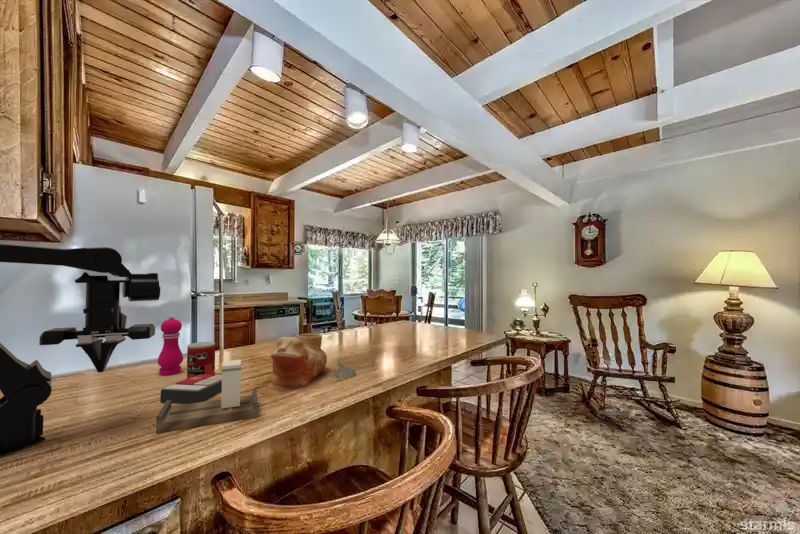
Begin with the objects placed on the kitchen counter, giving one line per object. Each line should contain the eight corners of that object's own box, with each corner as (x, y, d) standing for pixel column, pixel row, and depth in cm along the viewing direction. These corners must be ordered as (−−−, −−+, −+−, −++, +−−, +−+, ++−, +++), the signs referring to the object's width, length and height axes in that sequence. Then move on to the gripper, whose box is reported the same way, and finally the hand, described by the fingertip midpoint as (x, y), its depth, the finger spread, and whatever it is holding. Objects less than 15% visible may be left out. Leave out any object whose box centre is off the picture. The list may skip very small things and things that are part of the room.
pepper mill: (169, 376, 109) (171, 316, 110) (151, 375, 111) (153, 315, 111) (188, 370, 116) (189, 313, 117) (170, 369, 118) (172, 313, 118)
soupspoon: (336, 382, 108) (356, 382, 110) (336, 372, 108) (356, 372, 110) (331, 362, 129) (348, 362, 131) (332, 353, 129) (349, 353, 131)
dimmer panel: (156, 433, 71) (156, 416, 71) (166, 415, 80) (166, 400, 80) (257, 416, 79) (257, 402, 80) (256, 402, 88) (256, 388, 89)
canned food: (180, 379, 106) (181, 345, 106) (202, 372, 114) (203, 340, 114) (199, 382, 104) (200, 347, 104) (220, 374, 112) (220, 342, 112)
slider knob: (221, 408, 78) (221, 366, 79) (222, 401, 83) (223, 361, 83) (240, 406, 80) (240, 364, 80) (240, 398, 85) (241, 359, 85)
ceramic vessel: (256, 390, 98) (257, 339, 98) (298, 365, 124) (298, 325, 124) (300, 393, 95) (300, 341, 96) (333, 368, 121) (333, 327, 122)
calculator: (232, 374, 102) (198, 388, 87) (232, 388, 101) (197, 405, 87) (199, 373, 103) (160, 386, 88) (198, 387, 103) (159, 403, 88)
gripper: (161, 299, 86) (159, 359, 86) (65, 301, 78) (63, 367, 78) (149, 302, 76) (148, 370, 76) (39, 305, 68) (36, 381, 68)
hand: (101, 371), depth 75 cm, fingers closed
